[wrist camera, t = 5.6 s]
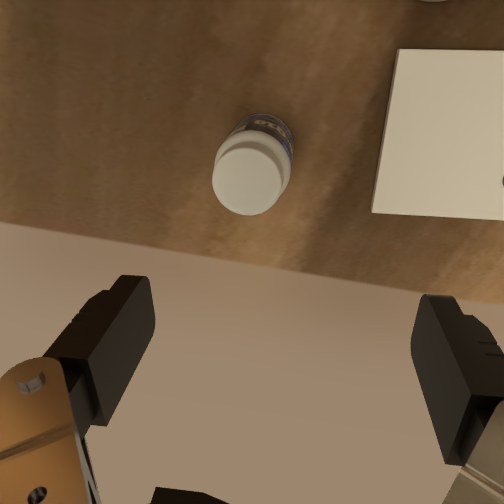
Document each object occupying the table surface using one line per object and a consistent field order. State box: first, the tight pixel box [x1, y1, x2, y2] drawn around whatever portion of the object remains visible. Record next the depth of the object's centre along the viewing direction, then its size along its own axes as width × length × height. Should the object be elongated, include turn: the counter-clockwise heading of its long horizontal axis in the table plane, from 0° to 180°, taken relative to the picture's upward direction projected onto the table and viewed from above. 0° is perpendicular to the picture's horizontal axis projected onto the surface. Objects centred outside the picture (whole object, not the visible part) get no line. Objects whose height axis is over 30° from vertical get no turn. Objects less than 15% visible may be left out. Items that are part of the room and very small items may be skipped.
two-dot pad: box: [370, 49, 504, 220], centre depth 27 cm, size 11×11×1 cm
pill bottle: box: [212, 114, 294, 215], centre depth 26 cm, size 5×5×8 cm
